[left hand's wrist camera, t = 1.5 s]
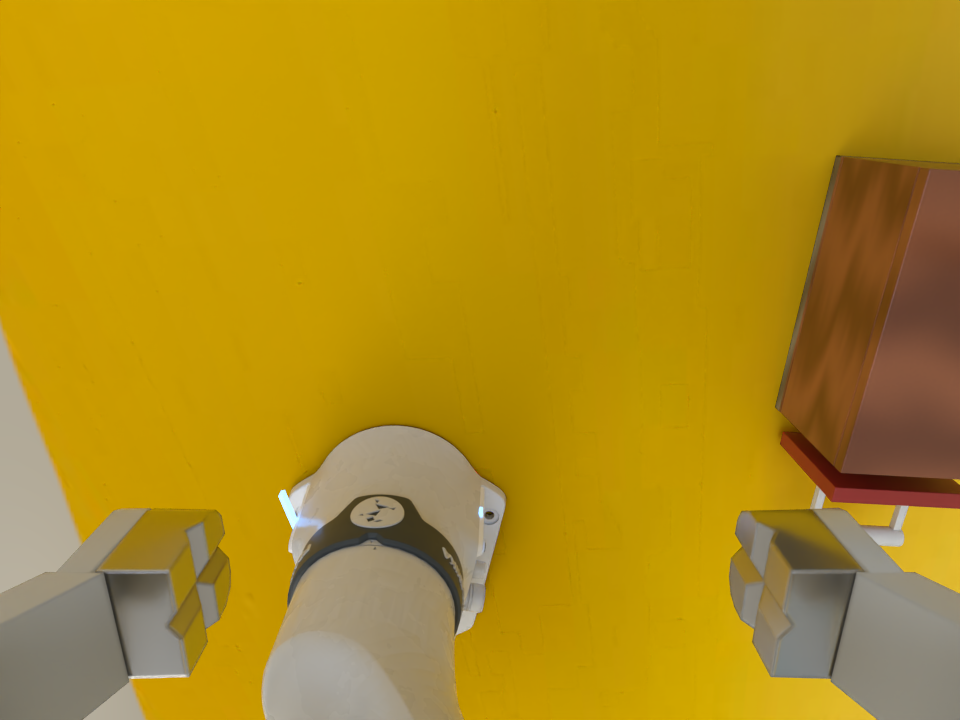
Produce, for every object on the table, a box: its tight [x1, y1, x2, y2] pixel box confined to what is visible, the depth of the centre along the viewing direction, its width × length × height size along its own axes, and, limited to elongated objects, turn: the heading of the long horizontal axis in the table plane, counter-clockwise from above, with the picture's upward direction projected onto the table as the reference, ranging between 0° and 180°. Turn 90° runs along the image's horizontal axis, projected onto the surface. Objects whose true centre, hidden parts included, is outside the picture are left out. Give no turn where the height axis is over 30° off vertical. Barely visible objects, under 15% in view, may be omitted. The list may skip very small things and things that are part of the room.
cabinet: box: [775, 156, 960, 479], centre depth 47 cm, size 20×11×11 cm, turn 176°
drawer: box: [780, 432, 960, 546], centre depth 49 cm, size 25×10×9 cm, turn 176°
